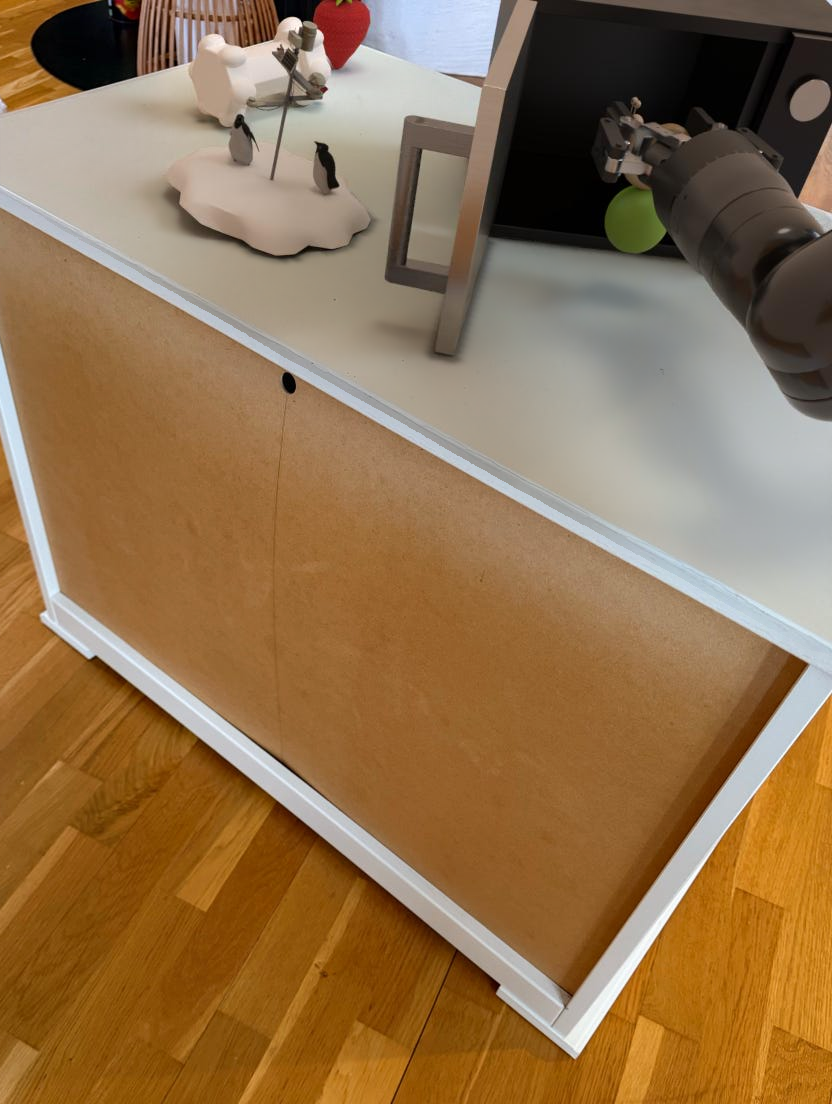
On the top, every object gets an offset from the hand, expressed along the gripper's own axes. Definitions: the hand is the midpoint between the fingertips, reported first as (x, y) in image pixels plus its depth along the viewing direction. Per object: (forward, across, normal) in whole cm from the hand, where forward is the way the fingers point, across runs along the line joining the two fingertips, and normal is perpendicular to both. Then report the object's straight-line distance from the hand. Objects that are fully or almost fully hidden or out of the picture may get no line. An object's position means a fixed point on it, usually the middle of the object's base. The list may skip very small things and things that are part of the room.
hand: (651, 117), depth 75 cm
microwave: (+15, -5, +14) cm, 21 cm away
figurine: (+12, +31, +15) cm, 36 cm away
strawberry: (+52, +20, +15) cm, 57 cm away
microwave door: (-2, +16, +14) cm, 22 cm away
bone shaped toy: (+36, +30, +15) cm, 49 cm away
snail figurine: (-2, 0, +10) cm, 10 cm away
